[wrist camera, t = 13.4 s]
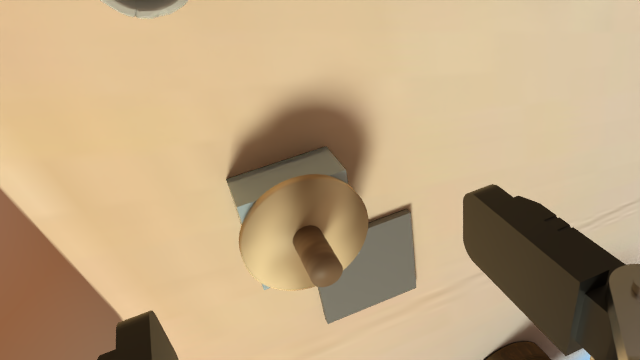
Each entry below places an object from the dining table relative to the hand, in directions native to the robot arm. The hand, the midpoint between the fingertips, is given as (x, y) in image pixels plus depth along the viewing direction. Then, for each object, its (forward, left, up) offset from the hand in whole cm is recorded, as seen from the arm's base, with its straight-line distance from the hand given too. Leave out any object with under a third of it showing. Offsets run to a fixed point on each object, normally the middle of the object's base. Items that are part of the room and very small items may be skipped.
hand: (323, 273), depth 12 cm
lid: (-4, +19, -25) cm, 32 cm away
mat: (-11, +31, -30) cm, 45 cm away
